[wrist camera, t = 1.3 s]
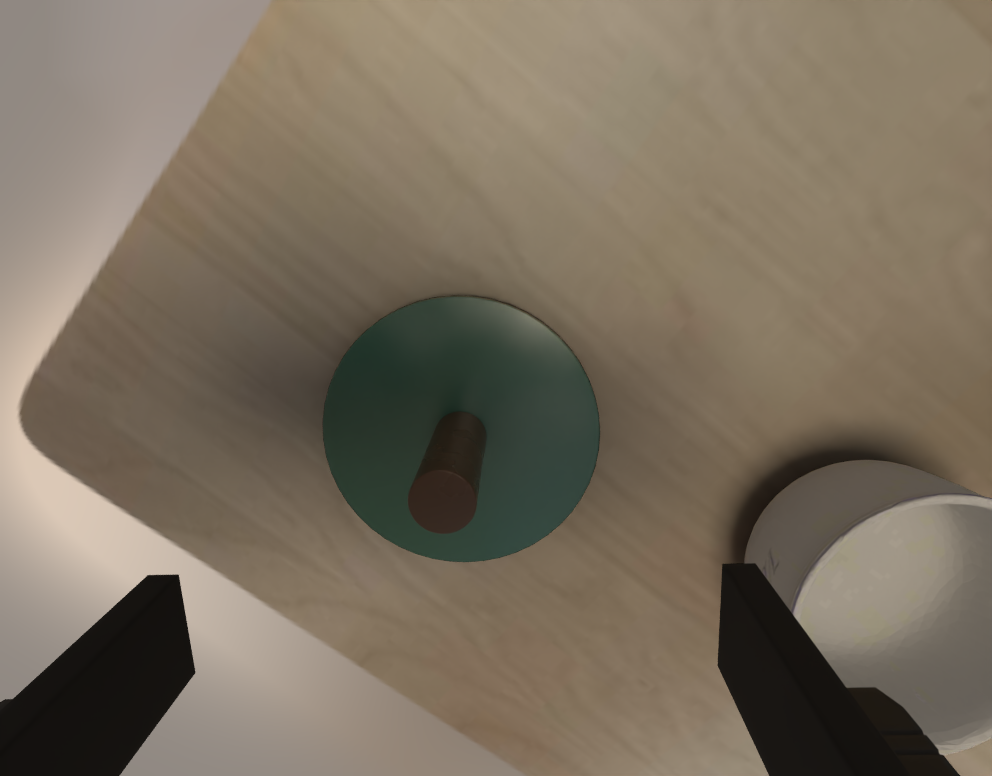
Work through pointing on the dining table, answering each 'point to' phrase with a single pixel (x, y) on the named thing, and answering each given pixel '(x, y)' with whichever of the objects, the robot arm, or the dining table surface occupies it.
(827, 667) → the robot arm
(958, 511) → the teacup
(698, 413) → the dining table surface
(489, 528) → the pot lid
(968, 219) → the dining table surface
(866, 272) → the dining table surface
